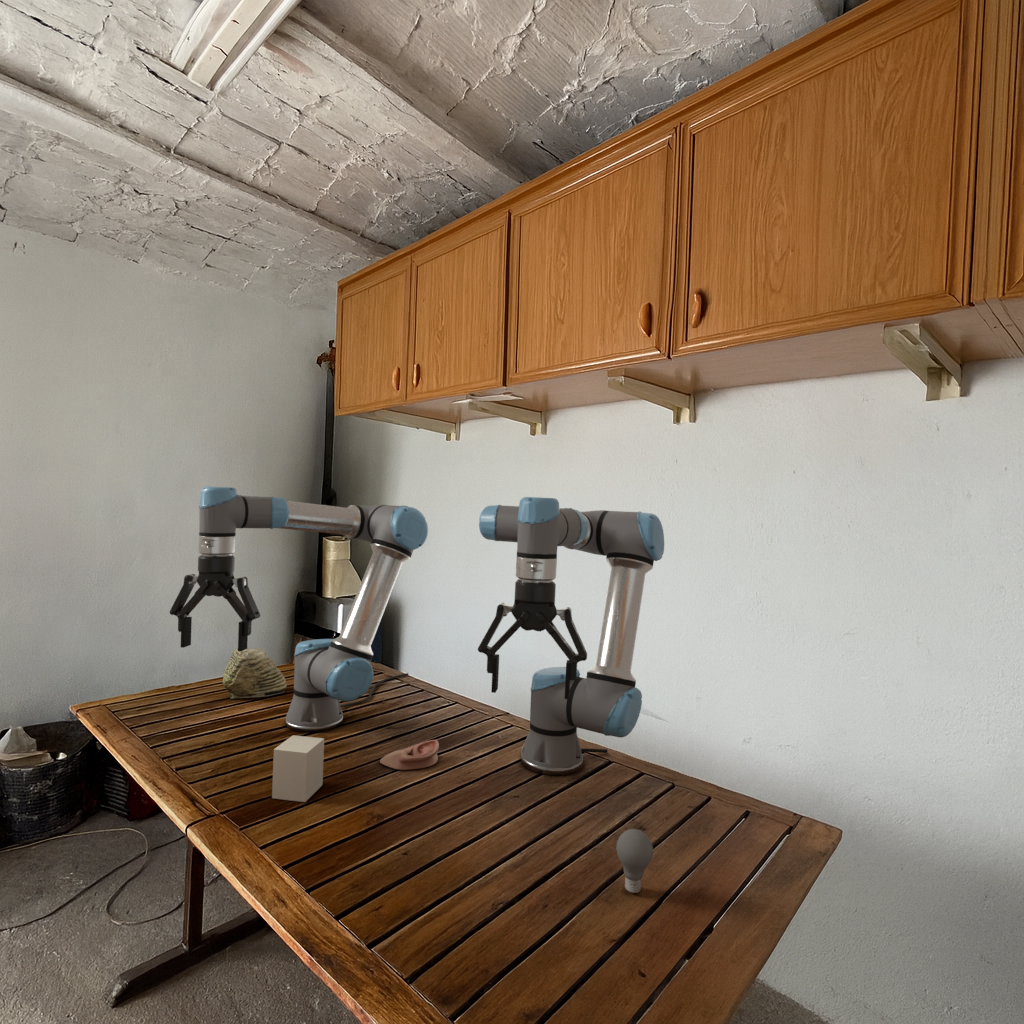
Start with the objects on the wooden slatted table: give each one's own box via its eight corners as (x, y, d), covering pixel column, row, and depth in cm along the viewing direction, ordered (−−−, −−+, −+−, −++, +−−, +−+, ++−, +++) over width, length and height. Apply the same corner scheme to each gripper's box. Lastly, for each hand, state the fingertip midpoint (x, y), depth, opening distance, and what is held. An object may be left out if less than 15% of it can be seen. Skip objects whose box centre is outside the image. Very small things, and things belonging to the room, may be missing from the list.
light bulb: (610, 879, 108) (613, 822, 108) (644, 879, 109) (647, 822, 109) (619, 902, 102) (622, 840, 102) (655, 901, 103) (658, 840, 103)
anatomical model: (374, 749, 149) (393, 732, 160) (374, 766, 149) (393, 748, 161) (428, 756, 147) (443, 739, 158) (427, 774, 147) (443, 754, 158)
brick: (291, 781, 140) (292, 735, 140) (322, 784, 139) (324, 738, 139) (271, 798, 132) (273, 749, 132) (305, 802, 131) (307, 752, 131)
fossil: (218, 695, 195) (220, 647, 195) (278, 685, 208) (279, 640, 207) (228, 703, 189) (230, 653, 188) (289, 692, 201) (290, 645, 201)
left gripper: (154, 553, 141) (151, 648, 141) (261, 559, 138) (258, 655, 139) (175, 550, 148) (172, 641, 149) (277, 556, 146) (274, 647, 146)
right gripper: (465, 578, 116) (460, 693, 116) (603, 587, 112) (597, 706, 112) (474, 573, 123) (469, 682, 123) (603, 581, 119) (598, 693, 120)
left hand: (214, 648), depth 144 cm, fingers open, 13 cm apart
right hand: (530, 693), depth 118 cm, fingers open, 13 cm apart
